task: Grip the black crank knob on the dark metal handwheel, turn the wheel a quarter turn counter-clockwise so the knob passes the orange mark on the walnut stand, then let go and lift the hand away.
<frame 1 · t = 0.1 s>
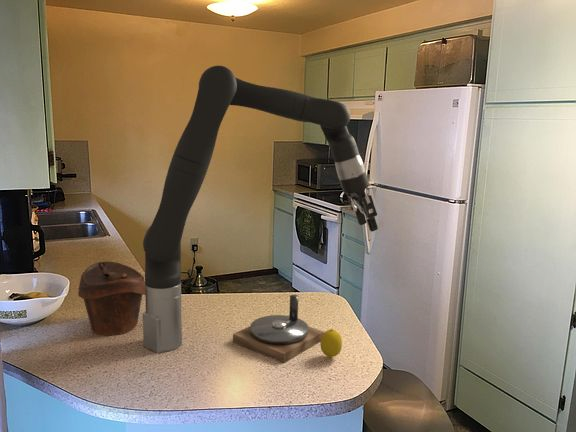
hand: (368, 227, 137), 31 cm above the worktop, tool tilted 20°, fingers open, 8 cm apart
chocolate muffin: (115, 327, 141), on the worktop
lemon: (330, 358, 126), on the worktop
wheel stand: (278, 341, 135), on the worktop
handwheel: (279, 317, 133), point 7 cm above the worktop, hinge at 0.0°
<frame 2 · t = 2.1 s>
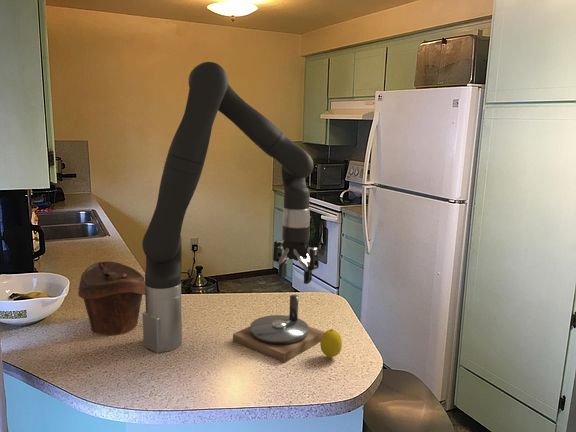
hand: (294, 280, 137), 16 cm above the worktop, tool pointing down, fingers open, 8 cm apart
nothing on the worktop moved.
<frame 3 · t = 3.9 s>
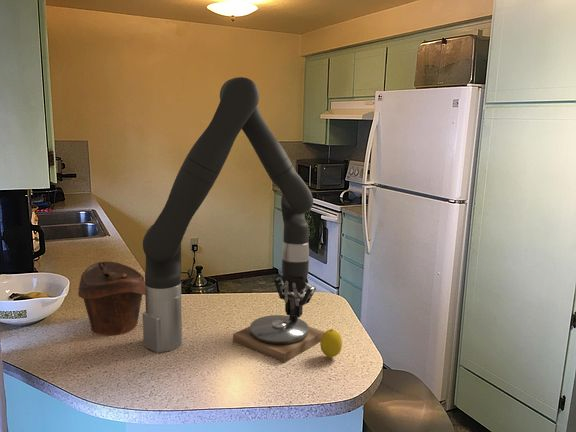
hand: (293, 315, 139), 6 cm above the worktop, tool pointing down, fingers closed on handwheel, 2 cm apart
handwheel: (279, 317, 133), point 7 cm above the worktop, hinge at 0.0°, touching gripper
everything else where it was.
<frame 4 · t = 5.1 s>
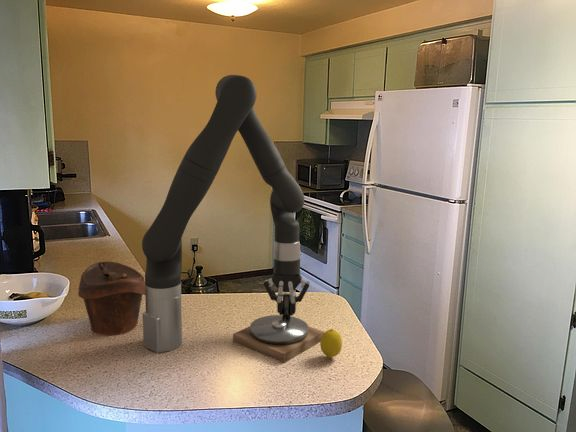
hand: (286, 314, 139), 6 cm above the worktop, tool pointing down, fingers closed on handwheel, 2 cm apart
handwheel: (279, 317, 133), point 7 cm above the worktop, hinge at 20.4°, touching gripper
everything else where it was.
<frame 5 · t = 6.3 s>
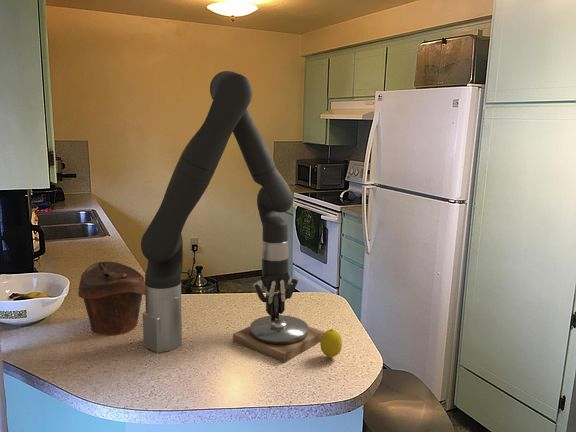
hand: (275, 313, 140), 6 cm above the worktop, tool pointing down, fingers closed on handwheel, 2 cm apart
handwheel: (279, 317, 133), point 7 cm above the worktop, hinge at 50.2°, touching gripper
everything else where it was.
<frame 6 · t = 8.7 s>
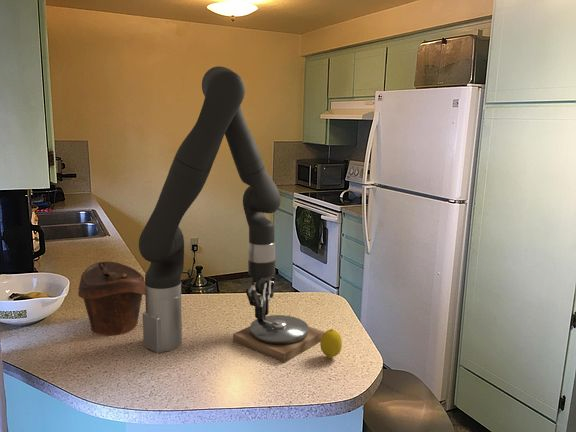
hand: (261, 315, 137), 6 cm above the worktop, tool pointing down, fingers closed on handwheel, 2 cm apart
handwheel: (279, 317, 133), point 7 cm above the worktop, hinge at 90.6°, touching gripper
everything else where it was.
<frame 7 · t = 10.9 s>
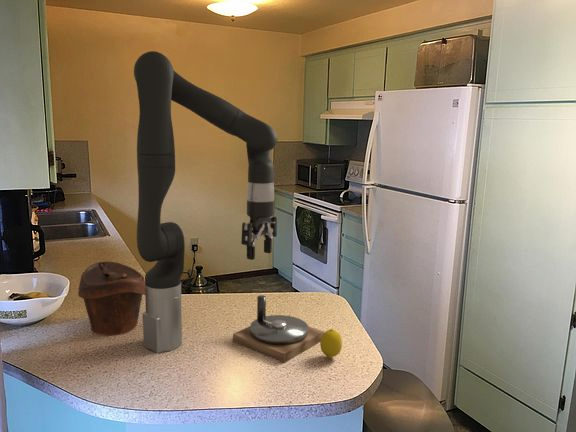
hand: (259, 255, 135), 23 cm above the worktop, tool pointing down, fingers open, 8 cm apart
handwheel: (279, 317, 133), point 7 cm above the worktop, hinge at 90.9°
everything else where it was.
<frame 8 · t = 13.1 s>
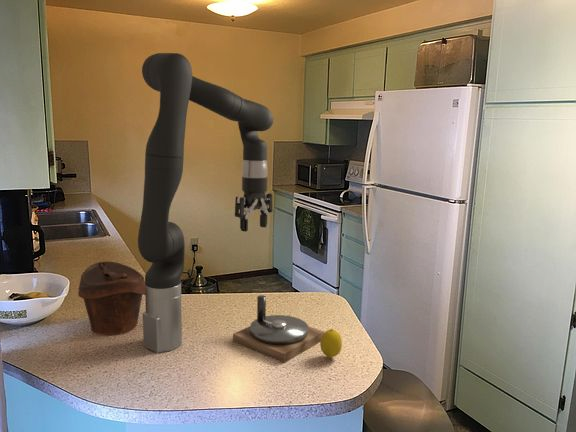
hand: (254, 229, 146), 28 cm above the worktop, tool pointing down, fingers open, 8 cm apart
nothing on the worktop moved.
at the end: handwheel at +91° (first picture: +0°); lemon moved 0.2 cm from its start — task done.
